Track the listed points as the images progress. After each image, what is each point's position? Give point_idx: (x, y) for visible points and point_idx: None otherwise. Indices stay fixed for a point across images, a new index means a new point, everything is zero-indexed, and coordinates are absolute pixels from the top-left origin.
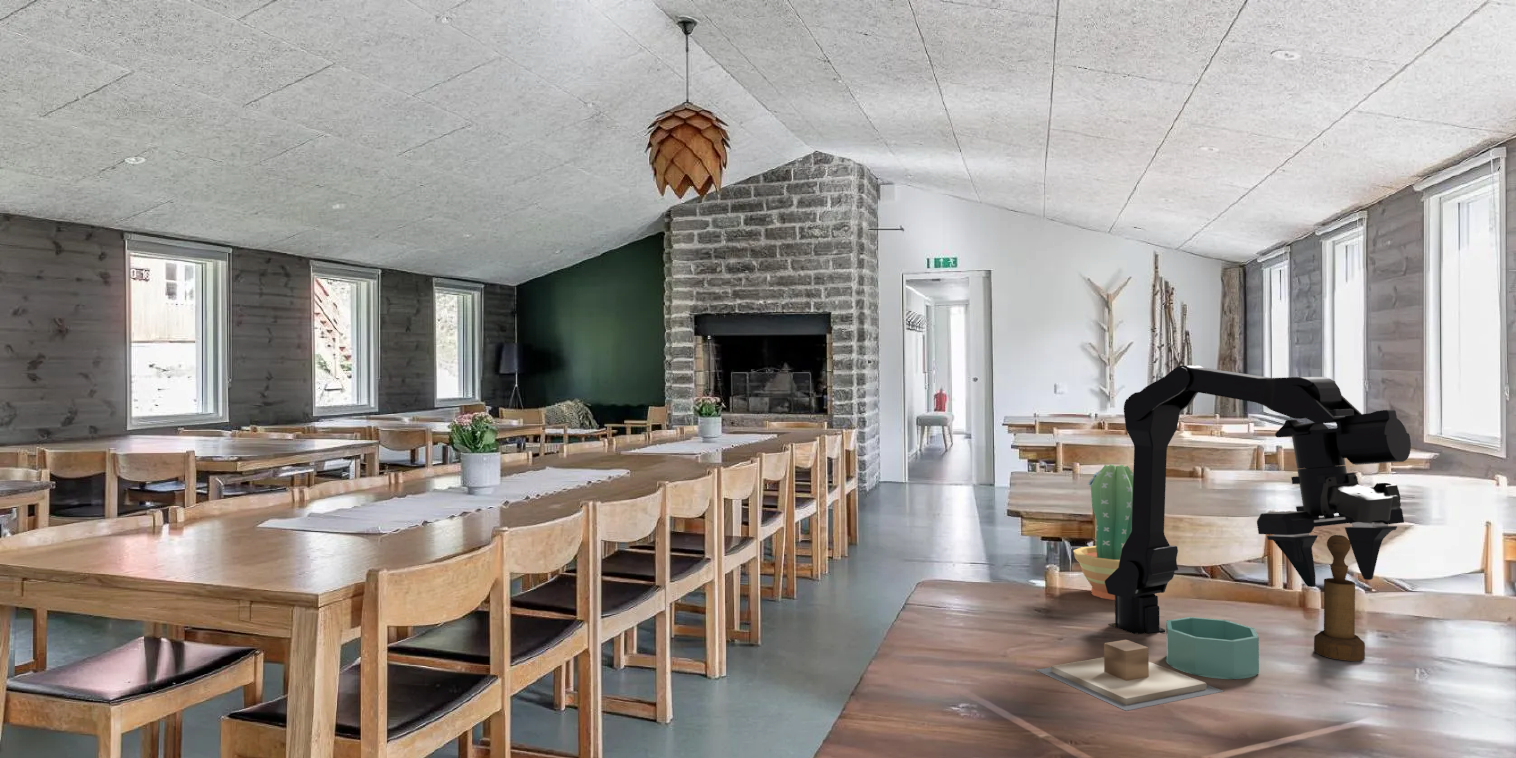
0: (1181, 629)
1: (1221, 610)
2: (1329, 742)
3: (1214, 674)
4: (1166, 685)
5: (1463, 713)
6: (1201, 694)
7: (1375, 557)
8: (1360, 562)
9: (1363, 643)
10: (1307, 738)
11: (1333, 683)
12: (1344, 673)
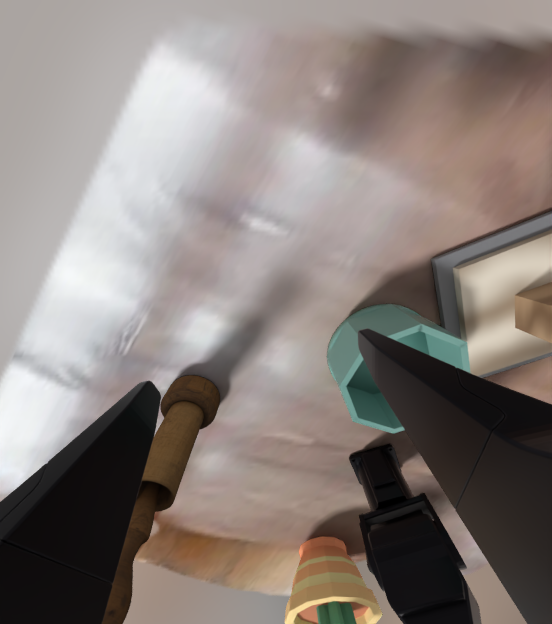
0: None
1: (244, 513)
2: (424, 54)
3: (411, 312)
4: (520, 260)
5: (151, 182)
6: (475, 246)
7: (71, 448)
8: (139, 449)
9: (165, 396)
10: (443, 75)
11: (261, 302)
12: (225, 336)
